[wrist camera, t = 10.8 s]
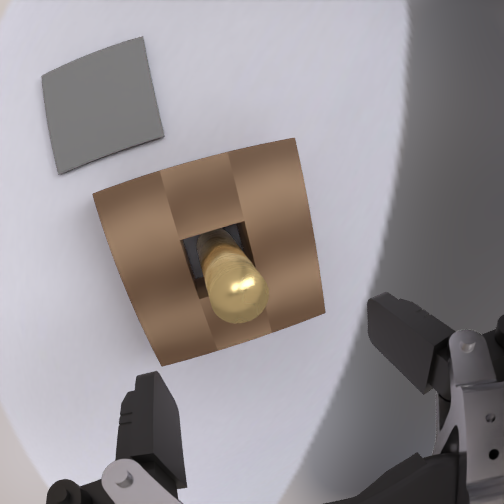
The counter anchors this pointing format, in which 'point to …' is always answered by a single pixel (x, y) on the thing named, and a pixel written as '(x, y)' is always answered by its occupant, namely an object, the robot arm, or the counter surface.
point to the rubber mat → (100, 105)
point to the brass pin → (231, 278)
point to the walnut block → (204, 220)
